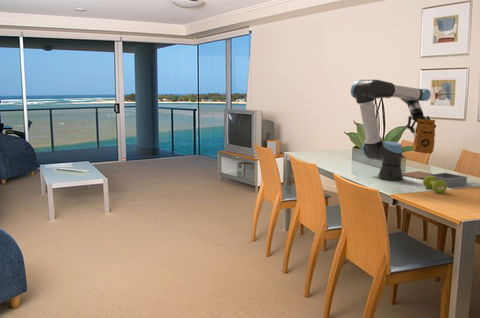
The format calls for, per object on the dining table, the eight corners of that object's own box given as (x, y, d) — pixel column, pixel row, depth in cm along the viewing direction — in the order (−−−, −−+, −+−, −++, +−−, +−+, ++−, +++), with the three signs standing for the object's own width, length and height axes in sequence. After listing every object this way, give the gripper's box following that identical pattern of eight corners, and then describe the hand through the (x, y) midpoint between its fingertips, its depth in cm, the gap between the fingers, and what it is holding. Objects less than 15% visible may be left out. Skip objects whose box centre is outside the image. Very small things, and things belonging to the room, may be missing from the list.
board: (420, 179, 280) (420, 178, 280) (398, 174, 296) (398, 173, 296) (441, 177, 289) (442, 175, 289) (419, 172, 305) (419, 171, 305)
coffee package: (433, 155, 283) (438, 121, 277) (412, 153, 287) (417, 119, 280) (431, 151, 293) (436, 118, 286) (411, 149, 296) (416, 116, 289)
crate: (447, 187, 257) (448, 179, 256) (426, 182, 270) (426, 174, 269) (466, 185, 265) (466, 176, 264) (444, 180, 278) (445, 172, 277)
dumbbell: (421, 187, 258) (422, 175, 257) (435, 187, 258) (436, 175, 257) (433, 193, 242) (434, 180, 241) (447, 194, 242) (448, 181, 240)
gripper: (431, 115, 302) (440, 139, 289) (396, 115, 301) (404, 139, 288) (435, 107, 296) (445, 132, 283) (400, 107, 295) (408, 132, 282)
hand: (424, 136), depth 286 cm, fingers closed on coffee package, 12 cm apart
